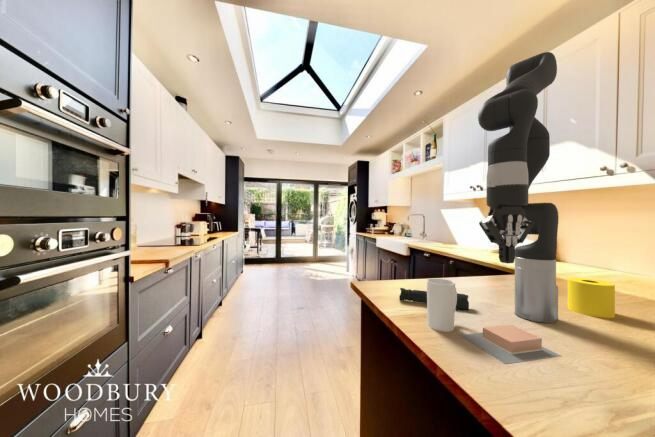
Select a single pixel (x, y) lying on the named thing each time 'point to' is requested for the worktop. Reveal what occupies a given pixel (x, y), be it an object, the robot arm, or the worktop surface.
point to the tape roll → (591, 297)
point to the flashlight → (422, 298)
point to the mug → (441, 304)
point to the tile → (512, 339)
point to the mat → (503, 355)
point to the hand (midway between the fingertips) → (506, 262)
